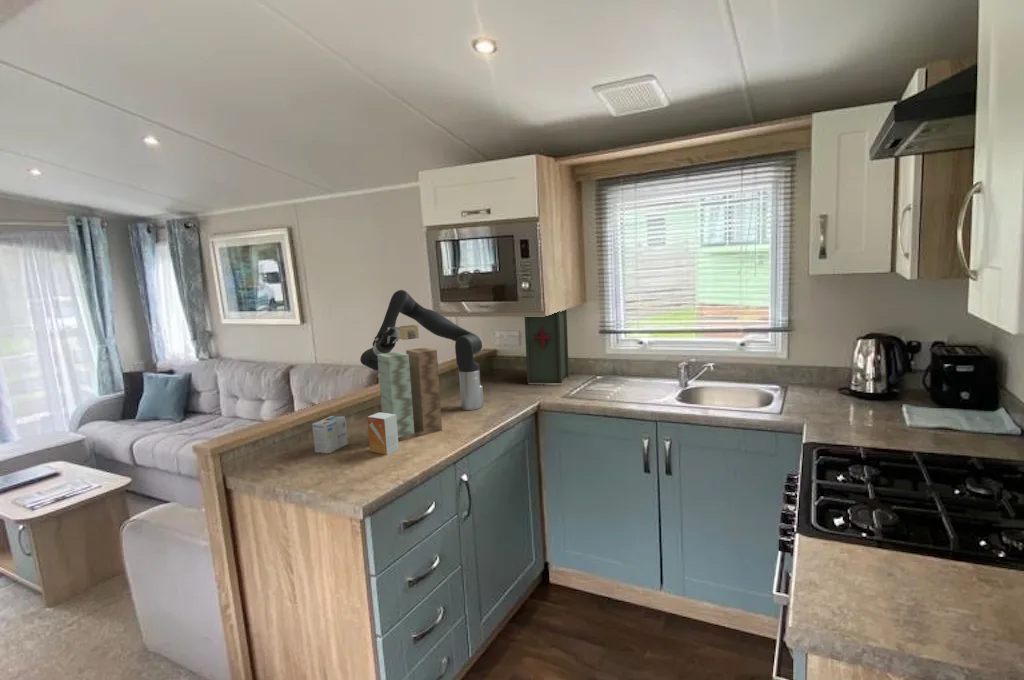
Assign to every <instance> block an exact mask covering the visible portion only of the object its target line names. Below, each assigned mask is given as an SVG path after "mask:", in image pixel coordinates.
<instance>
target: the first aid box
mask: <svg viewBox="0 0 1024 680" xmlns="http://www.w3.org/2000/svg"><path fill="white" fill-rule="evenodd" d="M567 311H568V309H567V310H565V311H562V312H560V311H559V312H557V313H554V314H552V315H549V316H545V317H525V316H524V333H525V334H524V335H525V339H524V340H525V354H526V356H525V357H526V358H525V359H526V360H525V361H526V381H527V383H562V381H563V379H565V378H568V377H569V378H570V375H569V373H570V372H569V371H570V369H569V368H570V367H569V347H568V346H569V343H568V342H569V341H568V313H567Z"/></svg>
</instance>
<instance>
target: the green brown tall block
mask: <svg viewBox="0 0 1024 680" xmlns="http://www.w3.org/2000/svg"><path fill="white" fill-rule="evenodd" d="M377 357H378V369H379V370H378V381H379V390H380V391H379V392H380V403H381V404H380V405H381V413H389V414H396V420H397V433H398V442H403V441H405V440H409V439H413V438H417V437H421V436H425V435H428V434H432V433H433V434H434V433H437V432H440V431H443V423H442V422H443V421H442V410H441V409H442V408H441V406H442V405H441V394H440V379H439V378H440V376H439V364H438V363H439V362H438V350H437V349H435V348H428V347H420V348H413V349H406V351H405V353H404V352H399V351H392V352H391V351H390V353H384V354H378V355H377Z"/></svg>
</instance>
